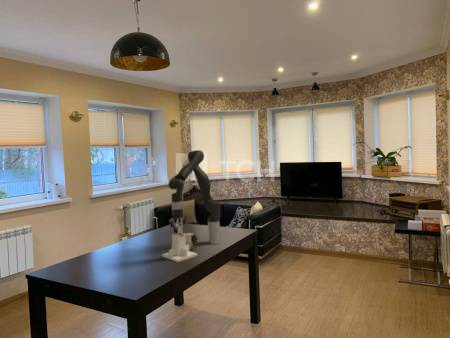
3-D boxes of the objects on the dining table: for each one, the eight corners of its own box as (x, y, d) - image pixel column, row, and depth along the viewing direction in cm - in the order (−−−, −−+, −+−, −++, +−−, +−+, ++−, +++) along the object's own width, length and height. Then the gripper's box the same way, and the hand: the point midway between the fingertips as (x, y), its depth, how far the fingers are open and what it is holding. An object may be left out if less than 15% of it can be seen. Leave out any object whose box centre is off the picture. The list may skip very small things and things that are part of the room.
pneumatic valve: (193, 250, 244) (193, 234, 244) (181, 248, 251) (181, 232, 250) (198, 248, 249) (197, 232, 248) (186, 246, 256) (185, 230, 255)
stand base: (181, 250, 244) (180, 229, 244) (197, 255, 232) (196, 232, 231) (162, 256, 233) (160, 233, 232) (177, 262, 220) (176, 237, 219)
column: (180, 252, 235) (178, 224, 234) (183, 253, 232) (182, 225, 231) (175, 253, 232) (173, 225, 231) (178, 254, 229) (177, 226, 228)
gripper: (182, 206, 238) (183, 229, 239) (165, 209, 228) (166, 233, 229) (188, 207, 233) (189, 231, 233) (172, 210, 223) (173, 235, 224)
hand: (178, 232), depth 231 cm, fingers closed on column, 4 cm apart
